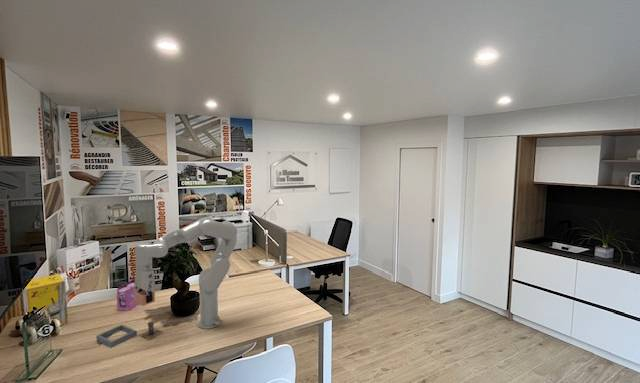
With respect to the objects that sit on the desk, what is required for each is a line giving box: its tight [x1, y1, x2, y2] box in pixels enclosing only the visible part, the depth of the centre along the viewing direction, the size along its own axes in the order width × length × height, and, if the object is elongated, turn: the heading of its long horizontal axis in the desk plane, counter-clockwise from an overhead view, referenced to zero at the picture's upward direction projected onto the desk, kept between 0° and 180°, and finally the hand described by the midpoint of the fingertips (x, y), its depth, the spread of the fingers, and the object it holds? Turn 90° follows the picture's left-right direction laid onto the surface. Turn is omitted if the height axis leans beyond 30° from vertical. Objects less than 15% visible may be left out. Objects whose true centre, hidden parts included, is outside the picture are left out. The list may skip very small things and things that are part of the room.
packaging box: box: [22, 273, 69, 327], centre depth 186 cm, size 16×16×25 cm
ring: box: [135, 290, 156, 307], centre depth 174 cm, size 6×8×5 cm
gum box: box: [116, 278, 150, 312], centre depth 214 cm, size 24×8×14 cm, turn 176°
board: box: [137, 321, 165, 341], centre depth 176 cm, size 9×9×7 cm
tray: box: [95, 324, 138, 348], centre depth 172 cm, size 13×13×4 cm
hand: (145, 300), depth 173 cm, fingers closed on ring, 6 cm apart
